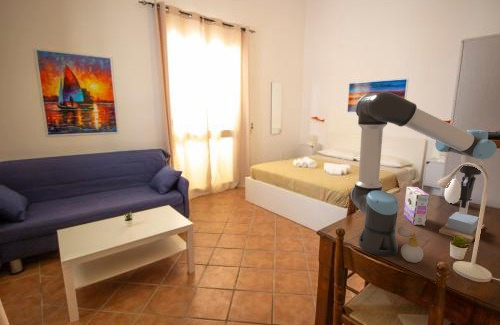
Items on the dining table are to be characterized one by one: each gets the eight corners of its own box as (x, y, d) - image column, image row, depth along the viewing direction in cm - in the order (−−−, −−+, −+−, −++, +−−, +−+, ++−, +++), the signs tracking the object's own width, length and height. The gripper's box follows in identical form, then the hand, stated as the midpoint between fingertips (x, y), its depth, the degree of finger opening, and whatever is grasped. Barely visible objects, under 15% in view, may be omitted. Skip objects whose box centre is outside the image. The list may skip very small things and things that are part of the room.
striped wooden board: (470, 242, 113) (471, 240, 113) (438, 232, 123) (439, 230, 122) (484, 226, 128) (484, 224, 127) (454, 218, 137) (454, 216, 137)
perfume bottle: (420, 268, 96) (424, 239, 93) (391, 259, 102) (394, 231, 99) (423, 259, 101) (427, 231, 99) (395, 251, 108) (399, 224, 105)
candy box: (425, 226, 129) (430, 195, 126) (412, 225, 130) (416, 194, 127) (414, 214, 142) (418, 186, 139) (402, 214, 143) (406, 185, 140)
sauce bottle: (449, 205, 154) (453, 176, 151) (440, 201, 162) (444, 173, 158) (462, 205, 154) (467, 176, 150) (452, 201, 162) (457, 173, 158)
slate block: (472, 224, 117) (479, 217, 124) (448, 217, 124) (456, 211, 131) (470, 234, 118) (477, 226, 125) (447, 227, 125) (454, 220, 132)
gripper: (478, 168, 109) (468, 220, 114) (485, 163, 117) (476, 212, 122) (456, 165, 115) (448, 214, 120) (465, 161, 122) (457, 207, 128)
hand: (462, 213), depth 121 cm, fingers closed
